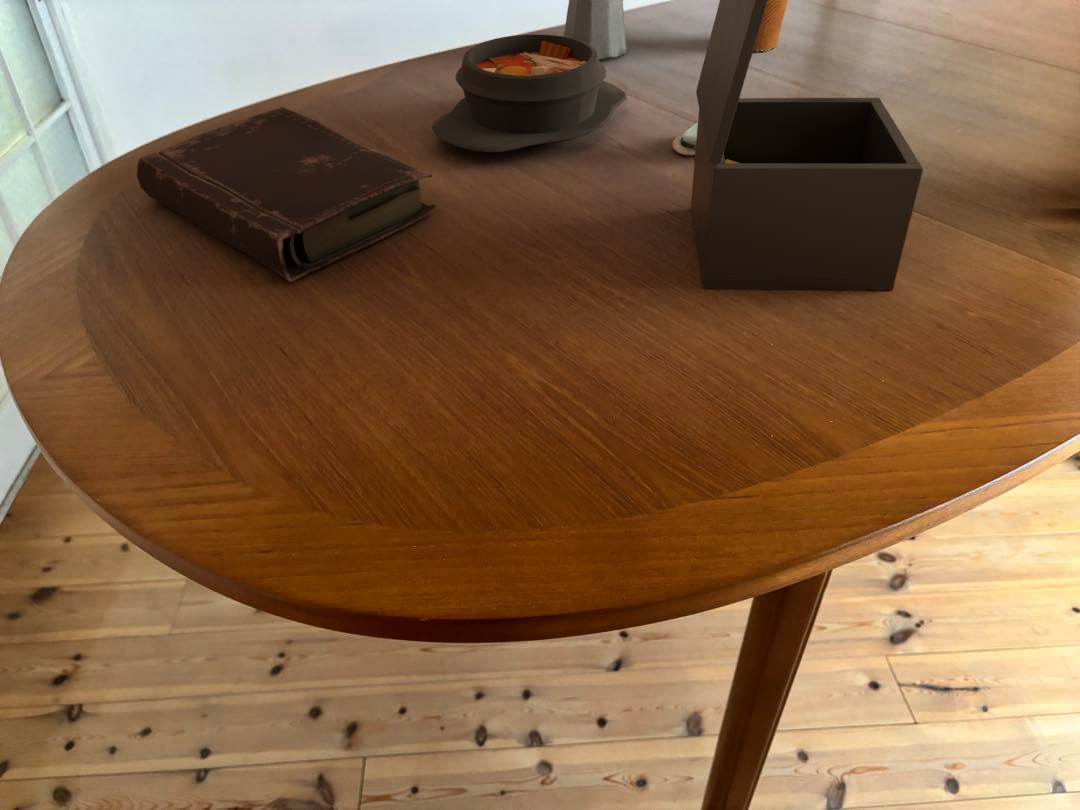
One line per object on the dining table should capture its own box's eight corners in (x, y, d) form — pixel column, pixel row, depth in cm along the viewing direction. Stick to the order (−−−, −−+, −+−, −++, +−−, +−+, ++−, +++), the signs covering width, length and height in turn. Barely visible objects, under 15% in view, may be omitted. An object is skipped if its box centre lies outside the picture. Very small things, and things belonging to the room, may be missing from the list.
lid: (760, -116, 72) (750, -118, 72) (789, -73, 61) (777, -76, 61) (705, 93, 83) (695, 92, 83) (720, 163, 71) (709, 161, 71)
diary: (283, 288, 80) (271, 237, 77) (145, 204, 94) (129, 157, 91) (442, 213, 91) (437, 165, 87) (296, 147, 104) (287, 103, 101)
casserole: (550, 80, 119) (549, 12, 114) (662, 116, 109) (666, 43, 103) (398, 137, 106) (389, 64, 100) (510, 185, 95) (506, 106, 90)
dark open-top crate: (856, 209, 89) (879, 97, 82) (892, 290, 78) (923, 168, 71) (690, 208, 90) (699, 98, 83) (702, 288, 79) (714, 168, 72)
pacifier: (664, 158, 100) (718, 164, 98) (666, 101, 96) (722, 106, 94) (682, 133, 105) (734, 138, 103) (685, 78, 101) (739, 82, 99)
